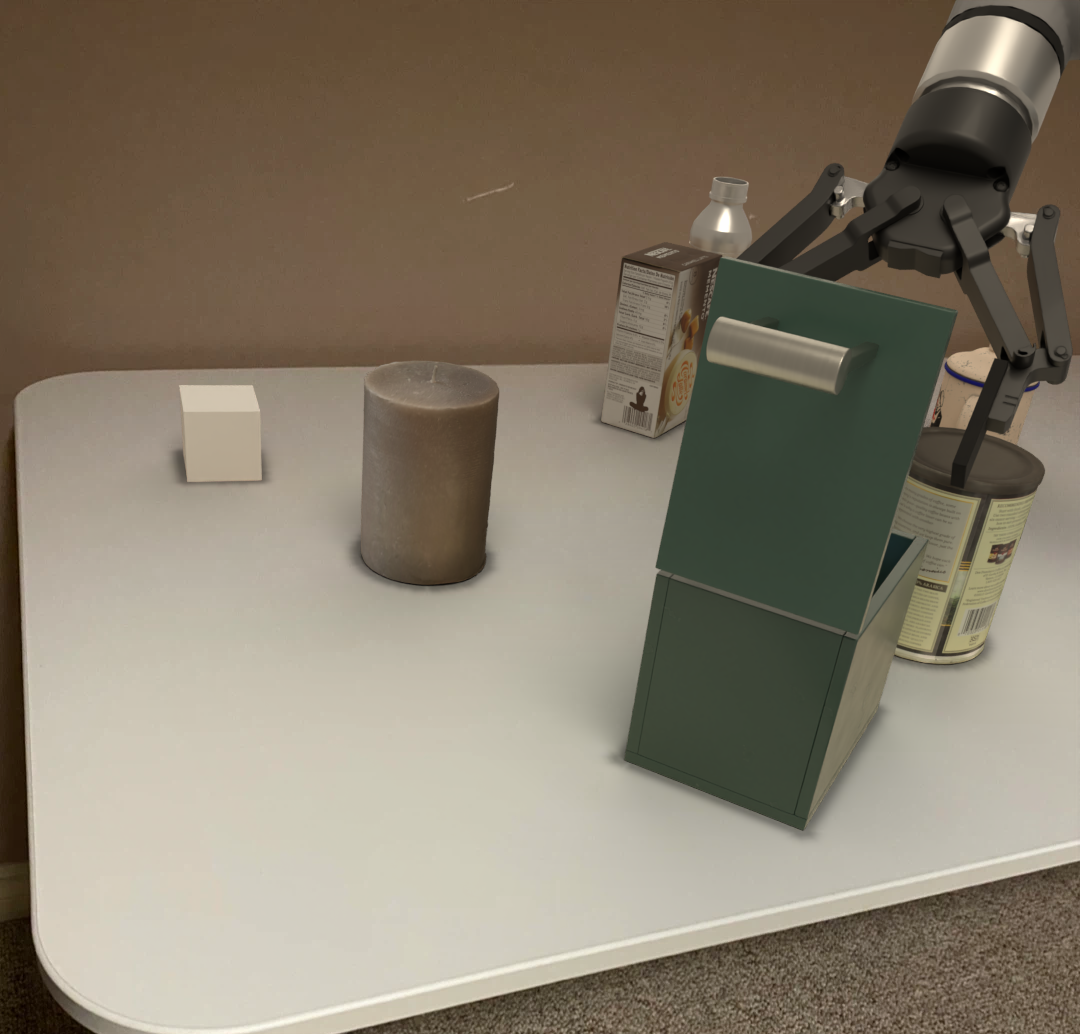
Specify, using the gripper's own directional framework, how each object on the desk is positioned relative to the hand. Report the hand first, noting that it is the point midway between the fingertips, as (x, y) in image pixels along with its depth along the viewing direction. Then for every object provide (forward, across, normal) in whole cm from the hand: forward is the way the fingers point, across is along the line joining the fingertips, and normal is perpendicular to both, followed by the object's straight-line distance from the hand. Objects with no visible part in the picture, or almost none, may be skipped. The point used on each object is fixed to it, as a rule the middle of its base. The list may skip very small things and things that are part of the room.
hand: (837, 444), depth 71 cm
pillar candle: (+9, +30, -18) cm, 37 cm away
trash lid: (+4, 0, +7) cm, 8 cm away
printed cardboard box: (-19, +29, -46) cm, 58 cm away
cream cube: (+7, +52, -20) cm, 57 cm away
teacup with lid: (-28, 0, -55) cm, 62 cm away
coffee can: (0, -5, -28) cm, 28 cm away
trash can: (+14, 0, -13) cm, 19 cm away
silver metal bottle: (-32, +31, -59) cm, 74 cm away
